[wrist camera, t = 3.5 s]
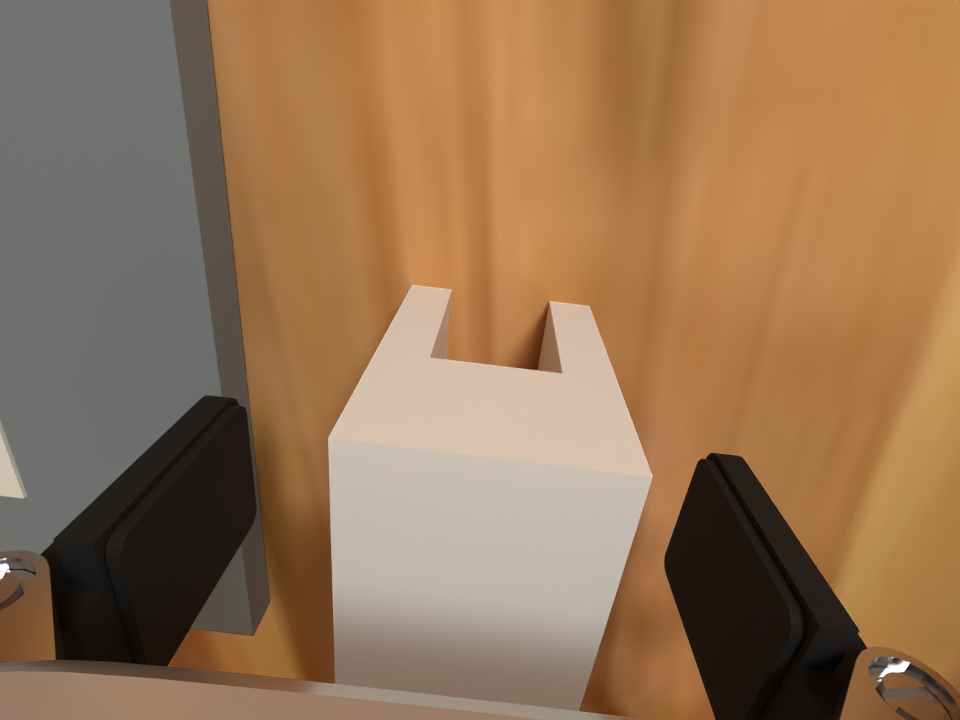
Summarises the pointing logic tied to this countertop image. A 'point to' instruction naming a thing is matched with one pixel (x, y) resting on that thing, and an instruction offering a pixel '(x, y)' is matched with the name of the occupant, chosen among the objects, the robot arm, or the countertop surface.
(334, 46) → the countertop surface
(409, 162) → the countertop surface
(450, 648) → the plug housing
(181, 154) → the pin board
